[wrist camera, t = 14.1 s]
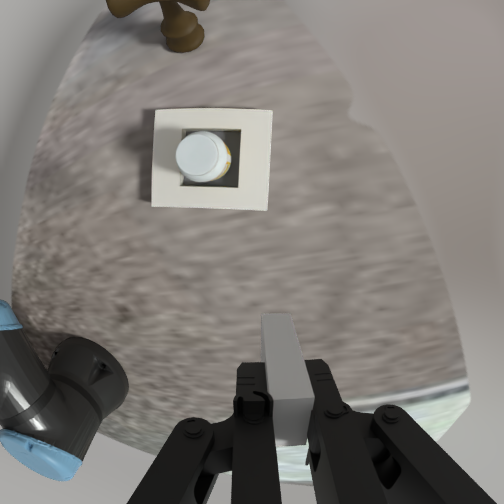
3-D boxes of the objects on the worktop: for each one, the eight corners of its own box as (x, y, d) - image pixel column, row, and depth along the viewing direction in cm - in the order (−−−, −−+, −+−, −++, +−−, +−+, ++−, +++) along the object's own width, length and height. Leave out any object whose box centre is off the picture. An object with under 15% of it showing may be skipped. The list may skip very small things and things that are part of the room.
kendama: (219, 56, 32) (194, -33, 13) (149, 59, 32) (78, -10, 13) (224, 20, 31) (206, -75, 11) (155, 24, 31) (98, -55, 11)
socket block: (157, 204, 37) (151, 206, 35) (161, 113, 34) (155, 109, 32) (266, 208, 38) (267, 210, 35) (271, 114, 34) (272, 110, 32)
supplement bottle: (230, 181, 36) (222, 185, 27) (187, 179, 36) (166, 183, 27) (233, 138, 35) (226, 127, 26) (190, 137, 35) (170, 127, 26)
